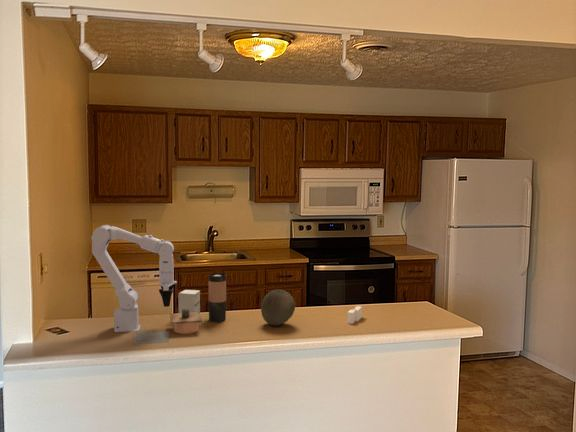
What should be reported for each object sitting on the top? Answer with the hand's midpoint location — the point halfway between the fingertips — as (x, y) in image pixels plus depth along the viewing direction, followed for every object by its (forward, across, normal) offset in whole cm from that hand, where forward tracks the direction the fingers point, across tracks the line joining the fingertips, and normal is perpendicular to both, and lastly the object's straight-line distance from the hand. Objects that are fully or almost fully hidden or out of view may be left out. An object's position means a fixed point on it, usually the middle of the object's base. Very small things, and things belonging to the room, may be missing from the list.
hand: (167, 303), depth 220 cm
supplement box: (+11, +11, -9) cm, 18 cm away
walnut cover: (+6, -4, -7) cm, 10 cm away
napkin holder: (+12, +2, -80) cm, 81 cm away
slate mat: (+10, -12, +5) cm, 17 cm away
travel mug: (+11, +10, -21) cm, 25 cm away
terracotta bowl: (+10, -4, -8) cm, 14 cm away
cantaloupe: (+11, -1, -46) cm, 47 cm away
